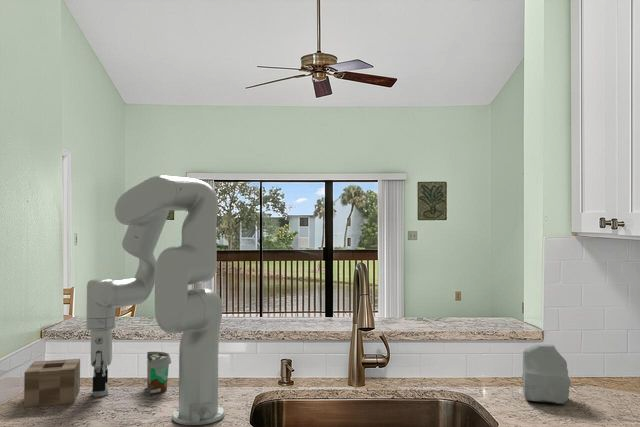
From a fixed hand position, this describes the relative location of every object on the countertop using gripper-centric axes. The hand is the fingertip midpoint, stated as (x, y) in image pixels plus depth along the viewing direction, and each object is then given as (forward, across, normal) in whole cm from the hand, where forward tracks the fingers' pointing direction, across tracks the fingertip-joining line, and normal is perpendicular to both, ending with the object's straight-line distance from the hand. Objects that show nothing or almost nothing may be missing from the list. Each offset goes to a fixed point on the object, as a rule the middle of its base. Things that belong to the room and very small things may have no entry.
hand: (100, 386), depth 157 cm
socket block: (+2, 0, +12) cm, 12 cm away
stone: (+3, -38, -117) cm, 123 cm away
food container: (+3, 0, -16) cm, 16 cm away
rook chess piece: (+2, 0, 0) cm, 2 cm away
